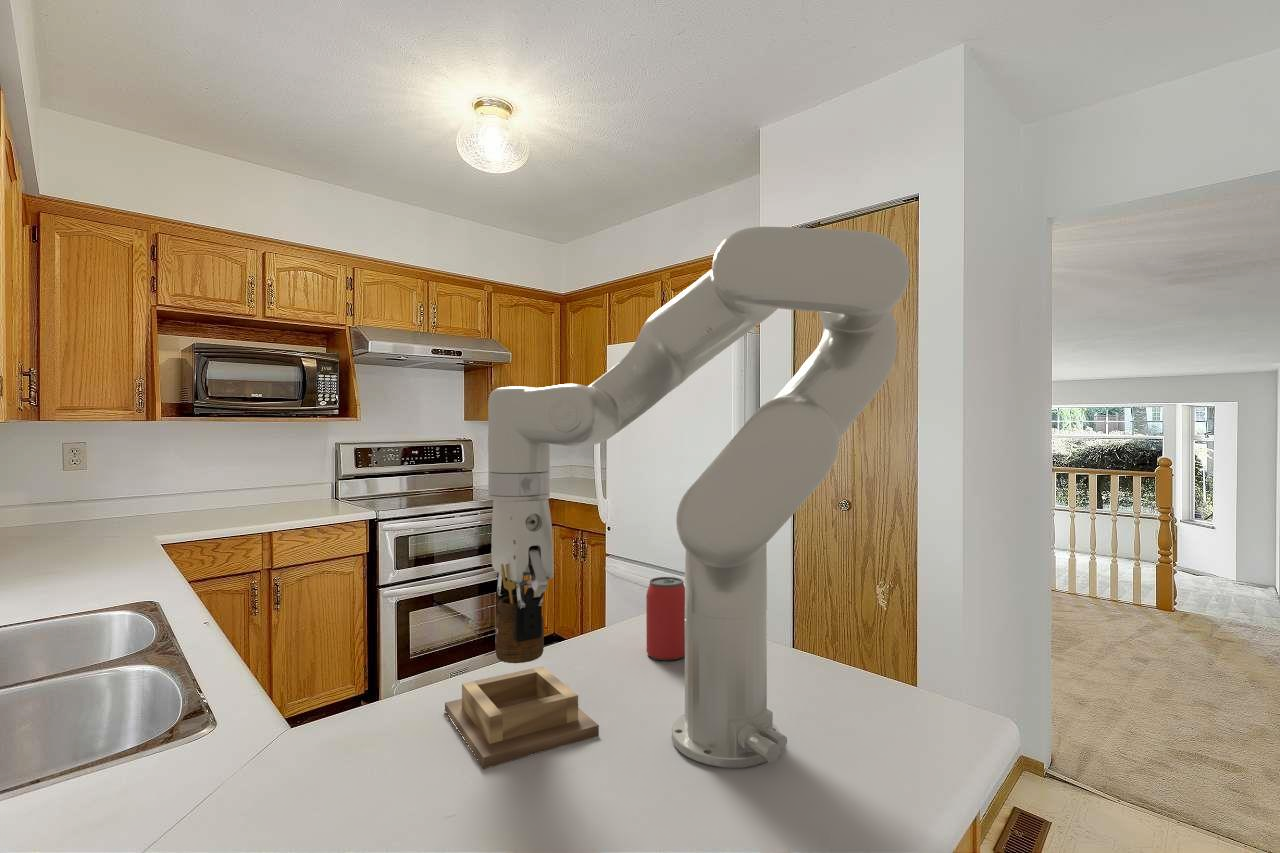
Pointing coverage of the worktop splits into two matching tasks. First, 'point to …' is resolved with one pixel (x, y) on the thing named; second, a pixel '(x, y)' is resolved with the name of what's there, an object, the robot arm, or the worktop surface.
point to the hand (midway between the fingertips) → (519, 630)
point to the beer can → (665, 618)
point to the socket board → (518, 716)
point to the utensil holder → (513, 630)
